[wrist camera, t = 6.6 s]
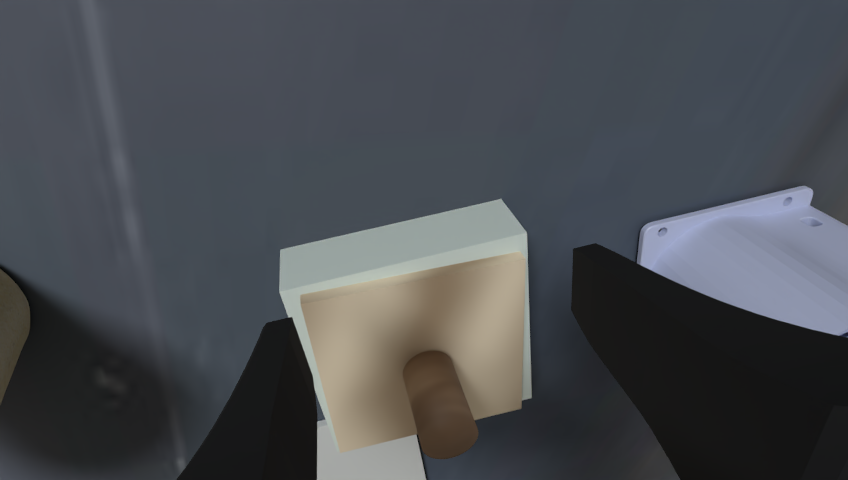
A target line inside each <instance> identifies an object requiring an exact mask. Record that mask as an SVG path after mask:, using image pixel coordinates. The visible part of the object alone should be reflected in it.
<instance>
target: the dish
mask: <svg viewBox="0 0 848 480" xmlns="http://www.w3.org/2000/svg"><path fill="white" fill-rule="evenodd" d="M519 251H521V253H522V254H523V256H524V257H525V258H526V270H525V303H524V337H523V370H522V400H526V399H530V398H532V390H531V355H530V321H529V286H528V251H527V232H526V231H525V230H524V228H523V227H522V226H521V224H520V223H519V222H518V220H517V219H516V218H515V217H514V215H513V214H512V213H511V211H510V210H509V209H508V207H507V206H506V205H505V204H504V202H503V201H502V200H501V199H499V200H495V201H491V202H486V203H482V204H478V205H473V206H469V207H464V208H460V209H456V210H451V211H447V212H443V213H438V214H434V215H430V216H425V217H421V218H416V219H412V220H408V221H403V222H399V223H395V224H390V225H386V226H382V227H377V228H373V229H369V230H364V231H360V232H355V233H351V234H347V235H342V236H338V237H334V238H329V239H325V240H321V241H316V242H312V243H308V244H303V245H299V246H294V247H290V248H286V249H281V250H280V286H279V292H280V295H281V298H282V300H283V303H284V306H285V309H286V312H287V314H288V317H292V318H293V321H294V324H295V327H296V330H297V332H298V335H299V338H300V341H301V344H302V347H303V350H304V352H305V355H306V358H307V361H308V364H309V367H310V369H311V372H312V375H313V381H314V389H315V392H316V394H317V397H318V400H319V403H320V405H321V408H322V411H323V414H324V416H325V419H326V422H327V425H328V427H329V430H330V433H331V436H332V438H333V441H334V444H335V447H336V449H337V452H339V447H338V443H337V439H336V436H335V432H334V428H333V424H332V421H331V417H330V413H329V409H328V406H327V402H326V398H325V394H324V391H323V387H322V383H321V379H320V376H319V372H318V368H317V364H316V361H315V357H314V353H313V349H312V346H311V342H310V338H309V334H308V331H307V327H306V323H305V319H304V316H303V312H302V308H301V304H300V295H302V294H307V293H312V292H317V291H322V290H327V289H332V288H337V287H342V286H347V285H352V284H357V283H362V282H367V281H372V280H377V279H382V278H387V277H392V276H397V275H402V274H407V273H412V272H418V271H423V270H428V269H433V268H438V267H443V266H448V265H453V264H458V263H463V262H468V261H473V260H478V259H484V258H489V257H494V256H499V255H504V254H509V253H514V252H519Z"/></svg>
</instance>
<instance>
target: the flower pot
mask: <svg viewBox="0 0 848 480" xmlns="http://www.w3.org/2000/svg"><path fill="white" fill-rule="evenodd" d="M29 330H30V308H29V304H28V301H27V299H26V297H25V295H24V294H23V292H22V291H21V289H20V288H19V287H18V285H17V284H16V283H15V282H14V281H13V280H12V279H11V278H10V277H9V276H8V275H7V274H6V273H5V272H3V271H2V270H1V269H0V405H1V402H2V399H3V397H4V394H5V391H6V389H7V386H8V384H9V381H10V379H11V376H12V374H13V371H14V368H15V366H16V363H17V360H18V358H19V355H20V353H21V350H22V348H23V346H24V343H25V341H26V340H27V337H28V335H29Z"/></svg>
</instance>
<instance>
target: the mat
mask: <svg viewBox="0 0 848 480" xmlns="http://www.w3.org/2000/svg"><path fill="white" fill-rule="evenodd" d="M317 480H426V477H425V472H424V467H423V463H422V458H421V454H420V449H419V444H418V440H417V435H412V436H408V437H404V438H400V439H396V440H392V441H388V442H383V443H379V444H375V445H371V446H367V447H363V448H359V449H355V450H351V451H347V452H343V453H340V451H339V452H337V449H336V447H335V444H334V441H333V438H332V436H331V433H330V430H329V427H328V425H327V422H326V419H325V420H321V421H317Z"/></svg>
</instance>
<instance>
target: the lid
mask: <svg viewBox="0 0 848 480" xmlns="http://www.w3.org/2000/svg"><path fill="white" fill-rule="evenodd" d="M525 270H526V258H525V257H524V256H523V254H522V253H521V251H519V252H514V253H509V254H504V255H499V256H494V257H489V258H484V259H478V260H473V261H468V262H463V263H458V264H453V265H448V266H443V267H438V268H433V269H428V270H423V271H418V272H412V273H407V274H402V275H397V276H392V277H387V278H382V279H377V280H372V281H367V282H362V283H357V284H352V285H347V286H342V287H337V288H332V289H327V290H322V291H317V292H312V293H307V294H302V295H300V304H301V308H302V312H303V316H304V319H305V323H306V327H307V331H308V334H309V338H310V342H311V346H312V349H313V353H314V357H315V361H316V364H317V368H318V372H319V376H320V379H321V383H322V387H323V391H324V394H325V398H326V402H327V406H328V409H329V413H330V417H331V421H332V424H333V428H334V432H335V436H336V439H337V443H338V447H339V451H340V453H343V452H347V451H351V450H355V449H359V448H363V447H367V446H371V445H375V444H379V443H383V442H388V441H392V440H396V439H400V438H404V437H408V436H412V435H416V434H418V436H419V440H420V444H421V448H422V451H423V452H424V453H425V454H426V455H427V456H429V457H431V458H435V459H448V458H452V457H455V456H458V455H460V454H462V453H464V452H466V451H467V450H468V449H470V448H471V447H472V446H473V444H474V443H475V442H476V440H477V438H478V429H477V426H476V423H475V421H474V420H477V419H481V418H485V417H489V416H493V415H497V414H501V413H506V412H510V411H514V410H518V409H521V404H522V370H523V337H524V303H525Z"/></svg>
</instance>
